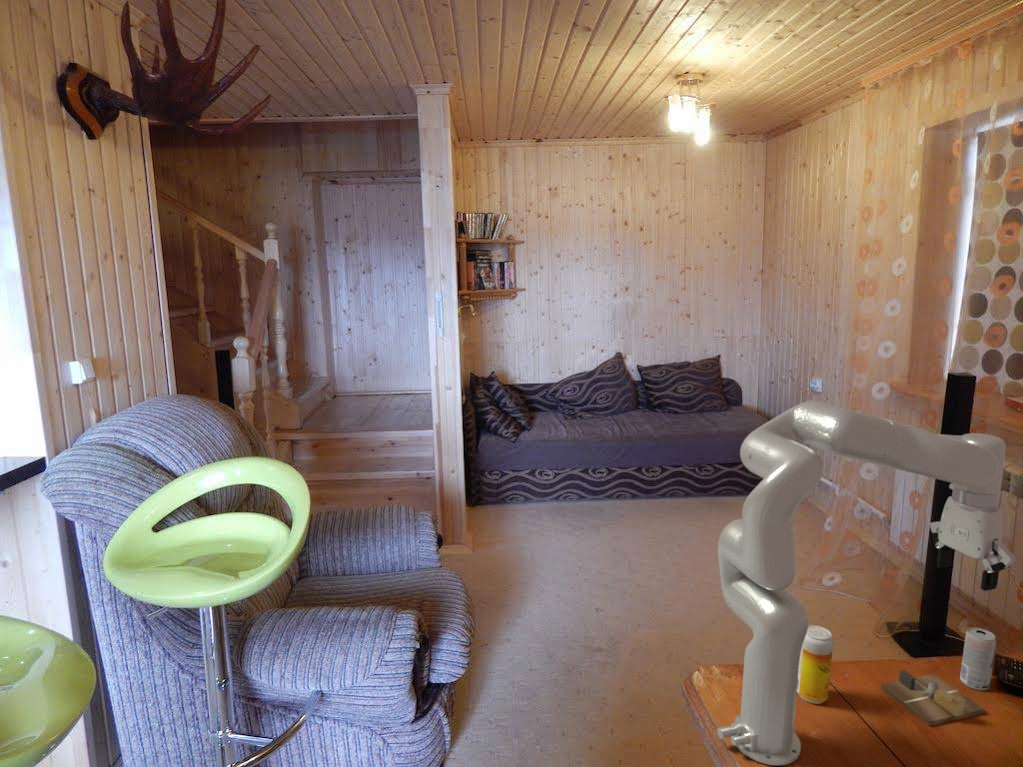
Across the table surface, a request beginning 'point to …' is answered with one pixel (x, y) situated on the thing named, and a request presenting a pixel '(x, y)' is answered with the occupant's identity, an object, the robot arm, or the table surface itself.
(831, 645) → the beer can
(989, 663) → the energy drink
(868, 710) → the table surface
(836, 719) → the table surface
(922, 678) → the lock board
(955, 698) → the latch bar
